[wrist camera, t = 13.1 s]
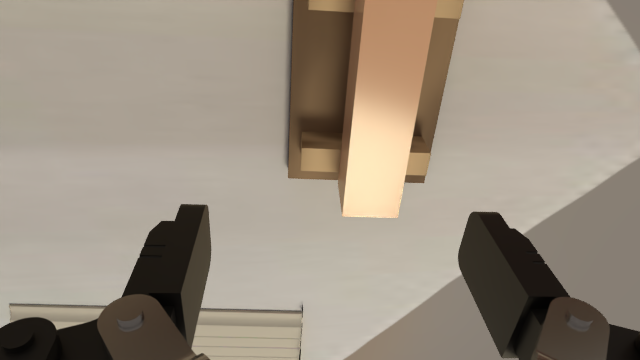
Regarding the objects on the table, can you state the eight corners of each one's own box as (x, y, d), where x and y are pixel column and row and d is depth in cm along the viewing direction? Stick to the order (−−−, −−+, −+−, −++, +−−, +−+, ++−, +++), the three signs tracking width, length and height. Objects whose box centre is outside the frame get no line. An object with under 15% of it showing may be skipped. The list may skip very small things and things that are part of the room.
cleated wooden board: (288, 169, 40) (287, 197, 36) (296, -74, 30) (295, -72, 26) (419, 174, 41) (432, 201, 37) (468, -62, 31) (492, -58, 27)
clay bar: (358, -39, 27) (368, -30, 24) (422, -35, 28) (442, -26, 24) (337, 183, 36) (342, 216, 32) (387, 184, 36) (397, 217, 32)
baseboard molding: (10, 289, 47) (38, 362, 53) (-7, 310, 45) (25, 384, 51) (303, 298, 49) (298, 367, 55) (303, 318, 47) (297, 388, 53)
